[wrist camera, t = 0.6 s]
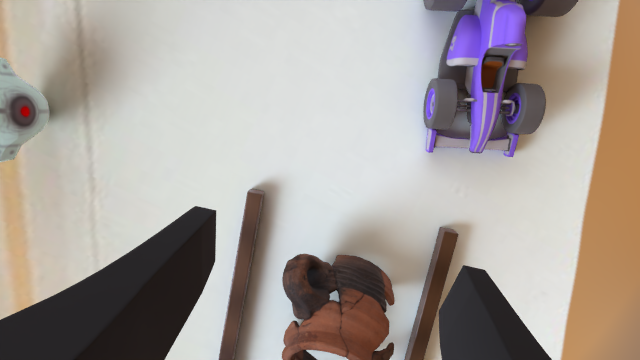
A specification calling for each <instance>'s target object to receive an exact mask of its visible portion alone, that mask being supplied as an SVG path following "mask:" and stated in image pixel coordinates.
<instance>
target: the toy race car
mask: <svg viewBox="0 0 640 360" xmlns="http://www.w3.org/2000/svg"><path fill="white" fill-rule="evenodd" d="M466 1H467V0H424V4H425V8H426V9H427V10H437V11H458V13H457V14H456V16H455V19H454V22H453V24H452V27H451V30H450V33H449V36H448V39H447V41H446V44H445V47H444V50H443V53H442V56H441V60H440V65H439V73H438V79H432V80H431V81H430V83H429V85H428V88H427V91H426V95H425V101H424V122H425V125H426V127H427V128H428V134H427V143H426V151H427V152H433V148H434V147H453V148H469V151H470V152H472V153H482V152H483V150H484V149H489V150H504V155H505V156H508V157H513V155H514V151H515V148H516V144H517V141H518V137H519V135H518V134H531V133H533V132H534V131H535V130H536V129H537V128H538V127H539V125H540V123H541V121H542V119H543V116H544V112H545V105H546V99H545V93H544V91H543V89H542V87H541V86H540V85H538V84H526V83H516V82H517V75H518V70H524V69H525V65H526V61H527V55H528V51H527V41H526V36H525V26H526V15H532V16H550V17H559V16H563V15H564V14H566V13H567V12H569V11H570V10H571V9H572V8H573V7H574V6H575V4H576V3H577V2H578V0H519V3H520V4H519V3H516V0H476V5H475V10H461V9H462V8H463V6H464V5H465V3H466ZM457 89H463V90H467V91H468V93H469V94H470V95H467V98H464V100H458V92H457ZM503 92H507V93H506V95H505V98H504V100H503V101H502V94H503ZM457 102H467V105H462V104H457ZM501 104H503V105H502V107H501ZM457 107H467V109H457ZM500 109H501V110H502V111H500ZM456 111H466V112H467V119H468V122H469V123H470V124H472V125H470V139H468V138H452V137H447V136H444V135H441V134H438V133H436V132H437V130H436V129H443V130H446V129H448V128H449V127H450V126H451V125H452V123H453V120H454V117H455V114H456ZM499 113H501V118H502V124H503V127H504V129H505V131H506V132H507V135H506V136H505V137H500V138H496V139H489V138H490V136H491V134H492V131H493V129H494V127H495V124H496V122H497V119H498V115H499Z"/></svg>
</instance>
